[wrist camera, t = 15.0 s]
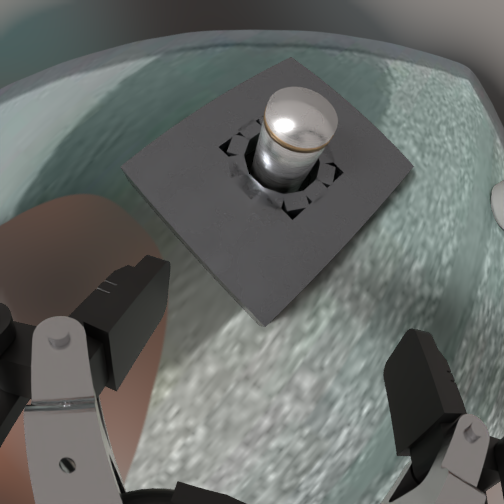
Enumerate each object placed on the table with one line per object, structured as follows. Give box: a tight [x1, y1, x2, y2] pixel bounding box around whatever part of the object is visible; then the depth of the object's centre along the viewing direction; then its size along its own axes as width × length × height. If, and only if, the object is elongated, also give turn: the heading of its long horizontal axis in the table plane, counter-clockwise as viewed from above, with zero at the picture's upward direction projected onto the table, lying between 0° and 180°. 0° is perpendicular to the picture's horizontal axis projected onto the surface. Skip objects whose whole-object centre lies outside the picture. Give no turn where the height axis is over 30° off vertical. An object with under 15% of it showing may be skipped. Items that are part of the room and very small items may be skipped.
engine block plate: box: [121, 57, 414, 327], centre depth 27 cm, size 22×18×3 cm
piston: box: [251, 87, 338, 194], centre depth 24 cm, size 5×5×10 cm
